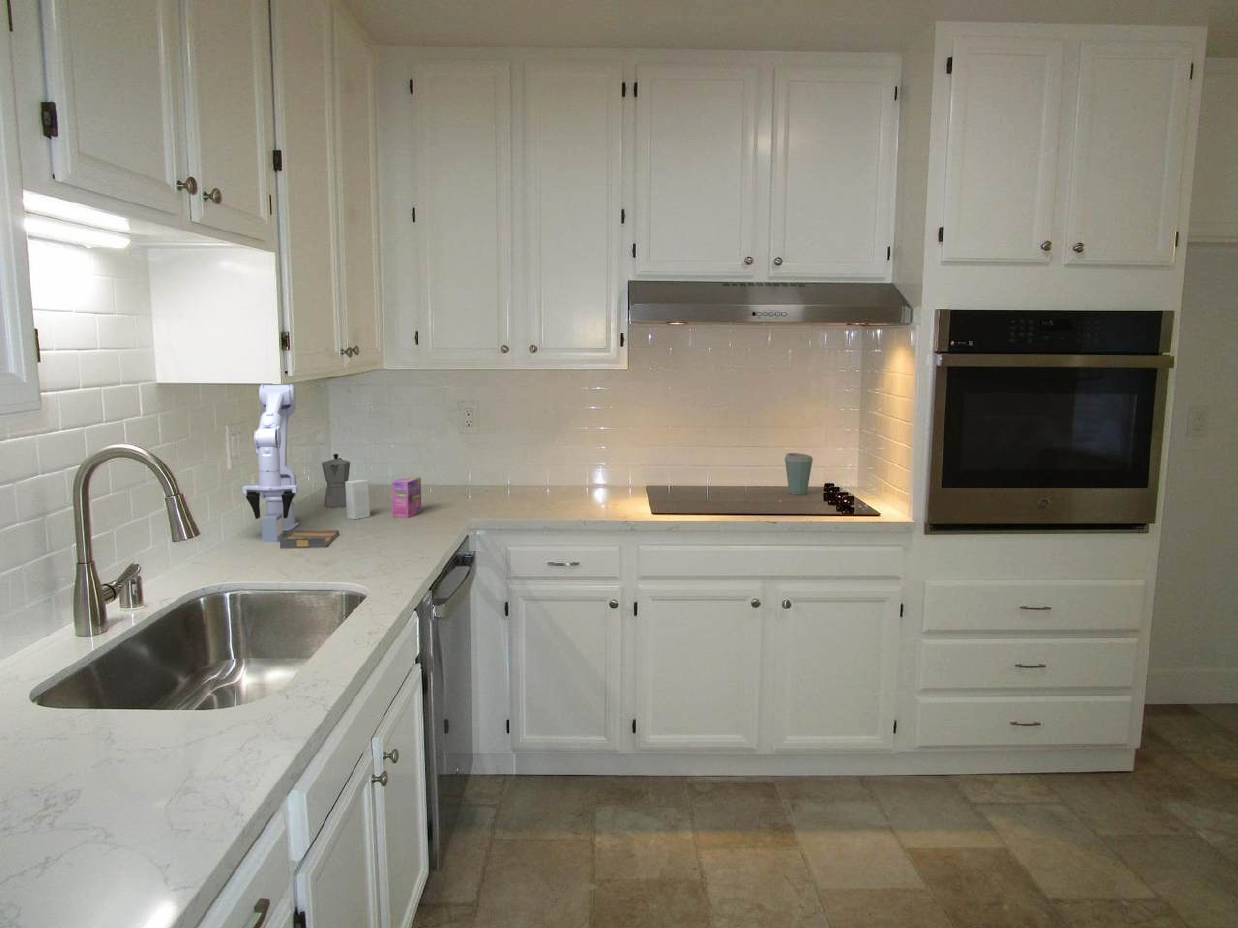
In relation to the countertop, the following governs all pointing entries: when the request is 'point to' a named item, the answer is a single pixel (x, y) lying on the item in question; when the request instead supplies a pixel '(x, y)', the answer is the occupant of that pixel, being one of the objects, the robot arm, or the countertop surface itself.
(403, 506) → the box
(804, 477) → the disposable coffee cup
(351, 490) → the skincare box
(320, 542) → the price rail
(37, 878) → the countertop surface
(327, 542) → the shelf board
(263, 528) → the carton
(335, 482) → the coffeepot
